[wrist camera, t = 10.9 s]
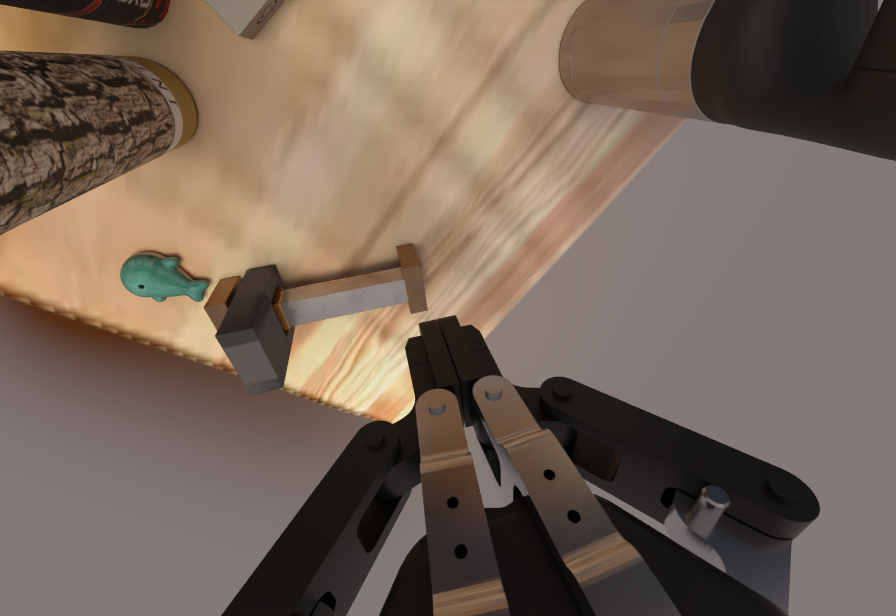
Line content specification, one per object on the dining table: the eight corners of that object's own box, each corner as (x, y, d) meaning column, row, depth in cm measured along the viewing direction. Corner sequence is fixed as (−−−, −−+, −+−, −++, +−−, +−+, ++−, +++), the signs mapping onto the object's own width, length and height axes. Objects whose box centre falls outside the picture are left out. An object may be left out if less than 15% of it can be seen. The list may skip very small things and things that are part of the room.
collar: (274, 265, 40) (252, 328, 31) (296, 317, 45) (283, 387, 35) (246, 270, 40) (215, 336, 30) (271, 322, 44) (251, 395, 35)
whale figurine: (139, 236, 36) (119, 251, 33) (218, 268, 40) (207, 285, 37) (123, 280, 38) (104, 299, 35) (200, 307, 42) (188, 326, 39)
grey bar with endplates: (412, 243, 43) (420, 265, 39) (419, 285, 47) (427, 310, 42) (220, 279, 40) (203, 307, 36) (242, 321, 44) (230, 352, 39)
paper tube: (195, 159, 34) (-31, 301, 13) (102, 126, 31) (-358, 243, 11) (205, 82, 31) (-63, 115, 11) (103, 38, 28) (-521, -31, 8)
